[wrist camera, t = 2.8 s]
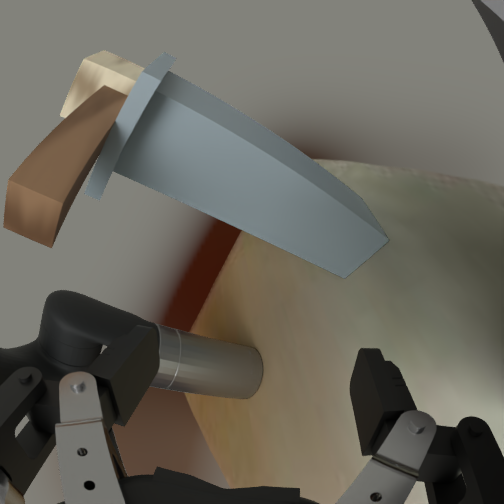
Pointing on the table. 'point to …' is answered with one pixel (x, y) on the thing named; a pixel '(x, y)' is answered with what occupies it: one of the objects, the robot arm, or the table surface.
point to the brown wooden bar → (68, 148)
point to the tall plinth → (234, 172)
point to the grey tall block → (493, 20)
